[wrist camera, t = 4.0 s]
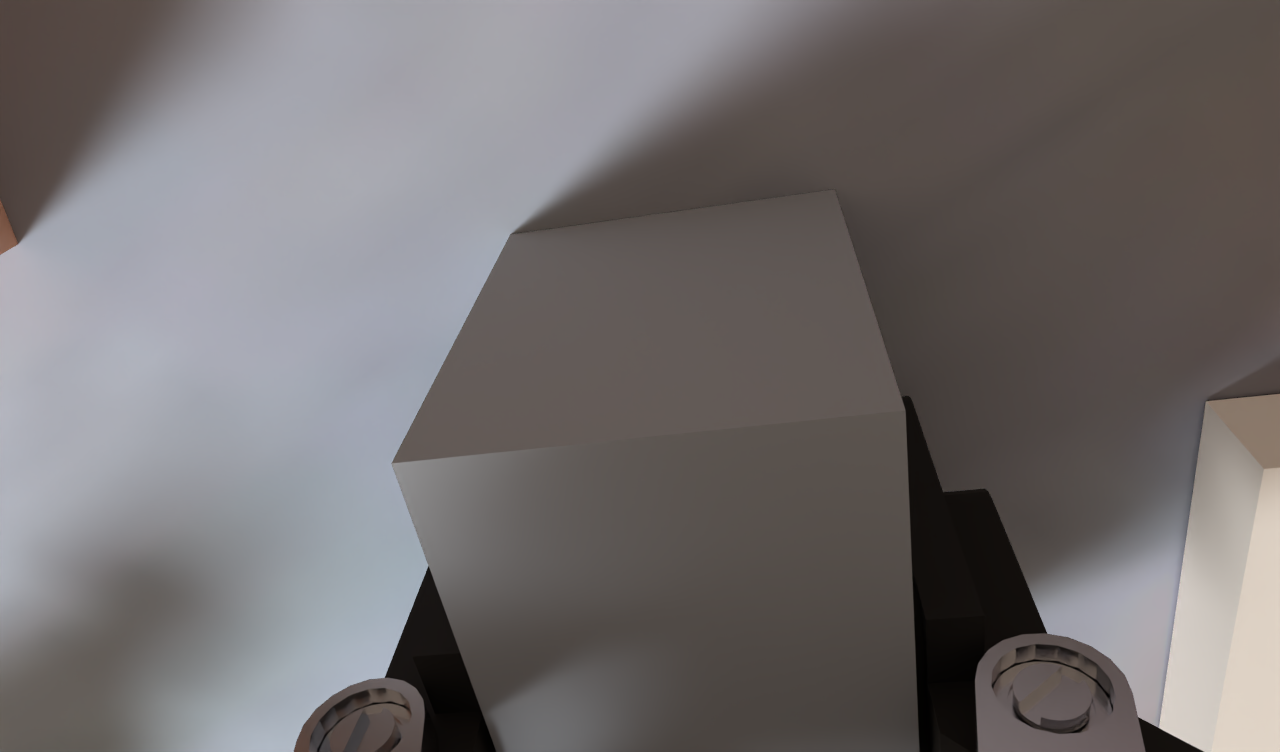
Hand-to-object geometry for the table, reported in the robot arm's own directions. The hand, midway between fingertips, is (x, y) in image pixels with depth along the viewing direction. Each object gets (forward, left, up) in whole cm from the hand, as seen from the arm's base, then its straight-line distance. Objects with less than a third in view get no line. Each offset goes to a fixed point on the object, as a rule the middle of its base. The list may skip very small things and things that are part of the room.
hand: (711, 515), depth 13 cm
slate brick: (0, 0, -1) cm, 1 cm away
